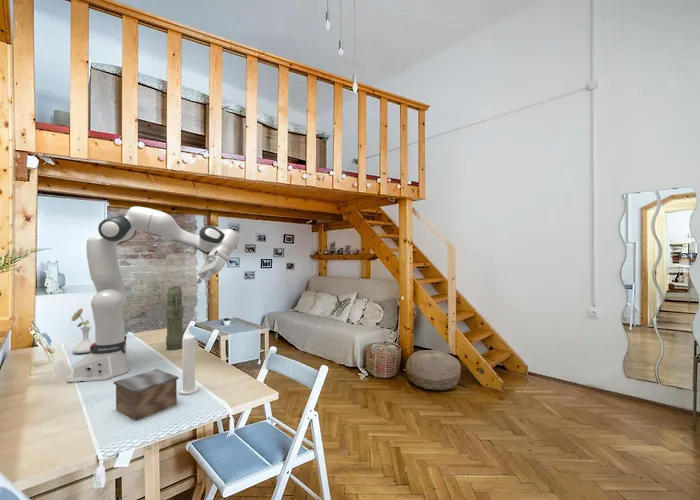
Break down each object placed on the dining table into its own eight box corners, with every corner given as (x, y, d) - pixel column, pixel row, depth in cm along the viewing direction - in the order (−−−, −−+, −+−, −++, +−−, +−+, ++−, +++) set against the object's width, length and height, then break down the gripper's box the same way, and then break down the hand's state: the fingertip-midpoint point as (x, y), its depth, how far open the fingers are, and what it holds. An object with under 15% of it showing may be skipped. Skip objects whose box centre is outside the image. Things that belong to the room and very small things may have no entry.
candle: (185, 396, 130) (185, 331, 130) (175, 392, 134) (175, 329, 134) (202, 390, 136) (202, 328, 136) (191, 386, 140) (191, 326, 140)
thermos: (179, 344, 203) (179, 286, 203) (186, 348, 194) (186, 287, 194) (163, 347, 197) (163, 287, 196) (169, 351, 188) (169, 288, 188)
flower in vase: (86, 348, 194) (86, 305, 194) (103, 349, 193) (103, 305, 193) (64, 355, 181) (63, 309, 181) (82, 356, 180) (82, 309, 180)
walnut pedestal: (134, 421, 111) (134, 391, 111) (113, 409, 119) (113, 381, 119) (178, 404, 124) (178, 376, 124) (157, 394, 132) (157, 369, 132)
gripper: (204, 258, 171) (188, 280, 163) (220, 250, 156) (204, 274, 149) (214, 265, 174) (199, 287, 166) (231, 258, 159) (216, 282, 152)
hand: (201, 281), depth 157 cm, fingers open, 8 cm apart
